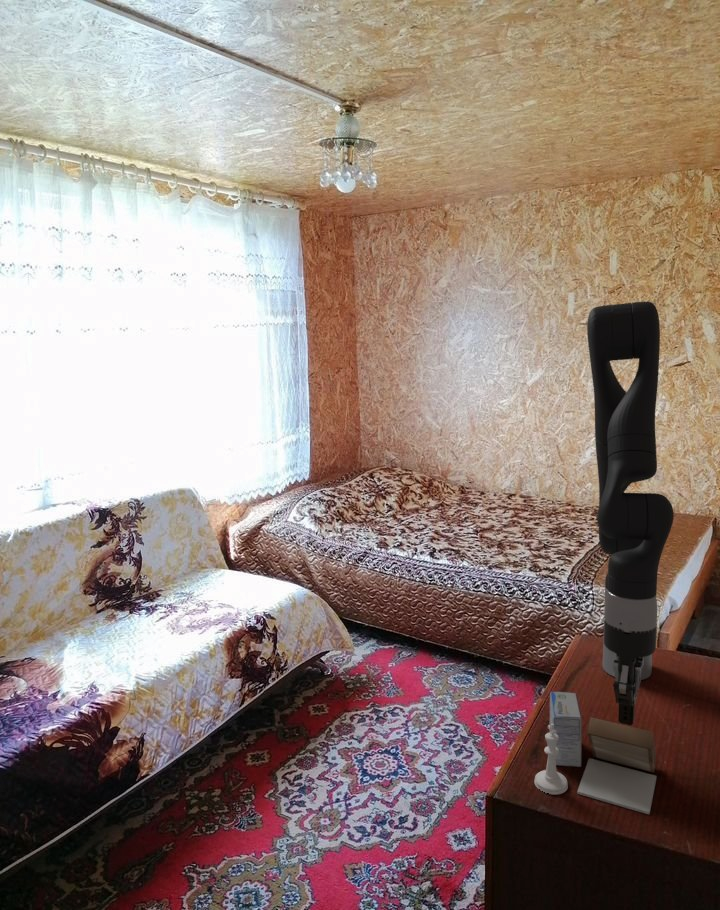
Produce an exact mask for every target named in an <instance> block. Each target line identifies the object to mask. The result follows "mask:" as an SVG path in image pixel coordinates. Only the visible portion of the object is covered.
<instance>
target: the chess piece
mask: <svg viewBox="0 0 720 910" xmlns="http://www.w3.org/2000/svg"><path fill="white" fill-rule="evenodd" d="M547 729H548V730H550V731H549V732H547V733H546V734H545V735H544V738H545V741H546V744H547V746H545V747H544V753H545V754H547V762H546V768H545V769H543V770H541V771H539V772H538V773H536V774H535V776H534V785H535V787H536V788H537V789H538V790H539V789H540V790H539V791H541V792H542V791H543V792H542V793H544V792H545V794H547V793H549V794H548V795H557V796H558V795H562V794H563V793H565V792H566V791H567V790H568V788H569V784H568V780H567V778H566V776H565V775H563V774H562V773H561V772H558V771H557V765H556V761H555V755H558V754H559V750H558V749H557V748H556V745H557V742H558V740H559V736H558V735H557V734H556V733H557V731H556V730H555V729H554V724H553V723H552V724H550V723H549V724H548V725H547Z"/></svg>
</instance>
